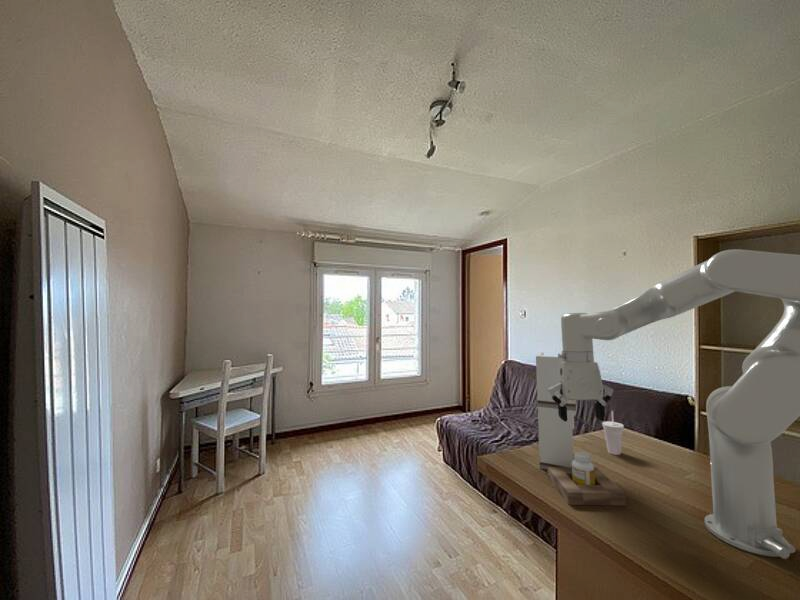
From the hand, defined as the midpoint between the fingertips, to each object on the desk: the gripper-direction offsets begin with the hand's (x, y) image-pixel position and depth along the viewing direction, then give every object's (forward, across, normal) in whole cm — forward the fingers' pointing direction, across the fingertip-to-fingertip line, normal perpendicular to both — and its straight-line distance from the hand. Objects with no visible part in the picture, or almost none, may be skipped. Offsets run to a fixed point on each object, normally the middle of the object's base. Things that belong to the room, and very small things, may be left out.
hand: (581, 419), depth 91 cm
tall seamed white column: (+19, 0, +16) cm, 25 cm away
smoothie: (+19, +22, +25) cm, 39 cm away
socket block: (+19, 0, 0) cm, 19 cm away
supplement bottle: (+19, 0, 0) cm, 19 cm away
